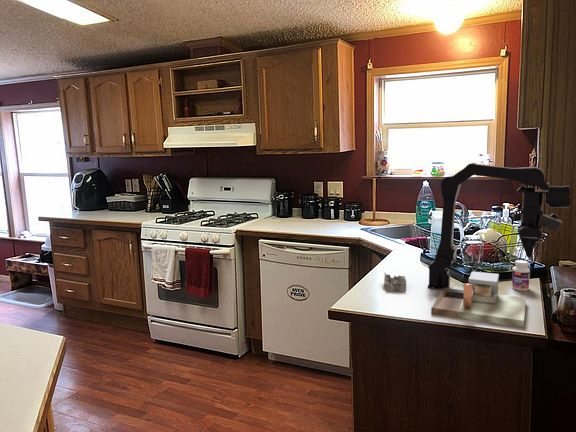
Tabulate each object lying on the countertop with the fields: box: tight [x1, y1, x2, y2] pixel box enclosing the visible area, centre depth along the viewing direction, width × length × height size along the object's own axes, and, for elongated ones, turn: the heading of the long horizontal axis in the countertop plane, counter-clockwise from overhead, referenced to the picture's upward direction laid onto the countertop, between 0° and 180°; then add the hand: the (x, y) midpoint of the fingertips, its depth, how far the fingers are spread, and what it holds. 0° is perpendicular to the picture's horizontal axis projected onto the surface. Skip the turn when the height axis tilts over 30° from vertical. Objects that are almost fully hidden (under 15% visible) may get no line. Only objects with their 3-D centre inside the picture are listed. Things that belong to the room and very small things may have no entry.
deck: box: [430, 287, 527, 329], centre depth 143 cm, size 25×21×2 cm
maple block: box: [475, 283, 492, 297], centre depth 146 cm, size 4×4×4 cm
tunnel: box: [468, 271, 500, 297], centre depth 146 cm, size 8×9×7 cm
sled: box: [462, 282, 497, 308], centre depth 142 cm, size 8×15×7 cm, turn 152°
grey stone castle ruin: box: [383, 272, 407, 292], centre depth 167 cm, size 11×8×4 cm
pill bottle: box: [511, 259, 531, 292], centre depth 161 cm, size 5×5×10 cm
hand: (529, 254), depth 150 cm, fingers open, 9 cm apart
